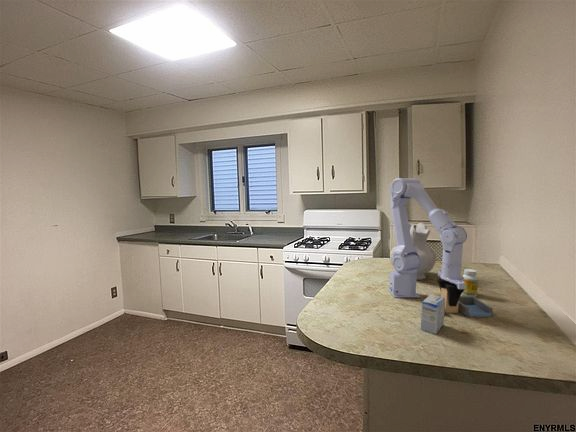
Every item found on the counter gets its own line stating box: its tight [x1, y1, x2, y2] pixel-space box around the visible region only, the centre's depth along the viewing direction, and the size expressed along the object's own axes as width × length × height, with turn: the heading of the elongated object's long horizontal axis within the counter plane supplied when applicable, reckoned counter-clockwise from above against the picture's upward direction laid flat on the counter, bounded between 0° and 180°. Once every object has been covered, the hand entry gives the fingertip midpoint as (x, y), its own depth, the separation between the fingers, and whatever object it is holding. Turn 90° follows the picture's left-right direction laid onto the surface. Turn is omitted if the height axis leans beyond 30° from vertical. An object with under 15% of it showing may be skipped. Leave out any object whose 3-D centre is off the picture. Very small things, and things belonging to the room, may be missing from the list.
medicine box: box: [420, 294, 445, 335], centre depth 94 cm, size 8×4×9 cm, turn 141°
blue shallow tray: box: [439, 295, 493, 318], centre depth 108 cm, size 16×12×2 cm
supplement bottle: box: [461, 268, 479, 298], centre depth 122 cm, size 5×5×10 cm
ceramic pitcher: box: [389, 221, 437, 281], centre depth 144 cm, size 22×20×25 cm
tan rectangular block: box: [440, 288, 459, 314], centre depth 107 cm, size 4×4×7 cm
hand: (449, 303), depth 107 cm, fingers closed on tan rectangular block, 4 cm apart
